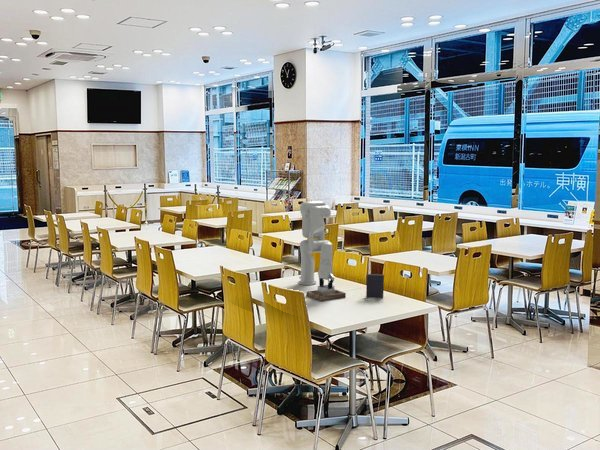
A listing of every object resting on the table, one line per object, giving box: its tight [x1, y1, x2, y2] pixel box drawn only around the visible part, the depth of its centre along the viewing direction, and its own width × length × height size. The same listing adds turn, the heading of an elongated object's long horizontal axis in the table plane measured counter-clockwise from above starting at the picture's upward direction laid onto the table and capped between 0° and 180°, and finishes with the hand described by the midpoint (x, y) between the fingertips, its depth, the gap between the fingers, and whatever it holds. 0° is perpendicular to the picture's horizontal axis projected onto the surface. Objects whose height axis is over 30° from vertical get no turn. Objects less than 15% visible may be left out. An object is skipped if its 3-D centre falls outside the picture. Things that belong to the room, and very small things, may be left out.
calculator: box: [365, 273, 385, 299], centre depth 379 cm, size 11×4×15 cm, turn 84°
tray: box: [305, 288, 347, 302], centre depth 379 cm, size 16×20×4 cm
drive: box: [316, 284, 335, 296], centre depth 379 cm, size 5×10×6 cm, turn 123°
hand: (325, 287), depth 379 cm, fingers open, 9 cm apart
